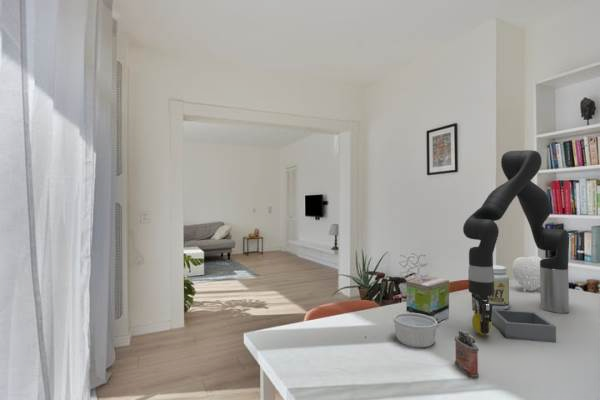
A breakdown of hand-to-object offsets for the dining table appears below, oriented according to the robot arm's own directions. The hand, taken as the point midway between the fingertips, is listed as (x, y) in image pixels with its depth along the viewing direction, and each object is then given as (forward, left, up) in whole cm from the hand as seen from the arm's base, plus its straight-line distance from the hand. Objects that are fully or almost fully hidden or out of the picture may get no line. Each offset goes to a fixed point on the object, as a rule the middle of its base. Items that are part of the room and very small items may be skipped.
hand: (481, 329), depth 109 cm
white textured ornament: (-66, +40, -2) cm, 77 cm away
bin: (-6, +14, -2) cm, 15 cm away
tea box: (-13, -15, -2) cm, 20 cm away
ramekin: (+9, -22, -2) cm, 24 cm away
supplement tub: (-35, +14, -2) cm, 38 cm away
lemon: (0, 0, -2) cm, 2 cm away
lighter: (+26, -11, -2) cm, 28 cm away
